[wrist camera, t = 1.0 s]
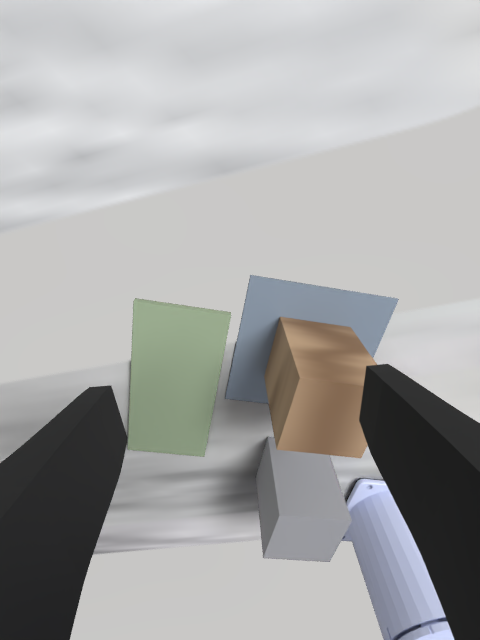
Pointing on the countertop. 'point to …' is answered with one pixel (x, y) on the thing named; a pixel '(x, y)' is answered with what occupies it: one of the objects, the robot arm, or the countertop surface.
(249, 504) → the countertop surface
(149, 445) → the rubber mat
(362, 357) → the walnut block
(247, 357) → the blue card
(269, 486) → the grey block
